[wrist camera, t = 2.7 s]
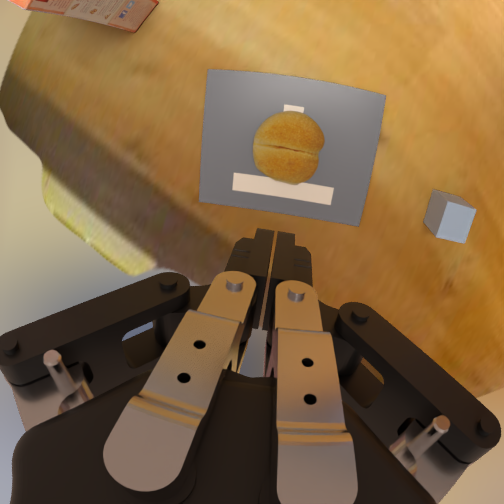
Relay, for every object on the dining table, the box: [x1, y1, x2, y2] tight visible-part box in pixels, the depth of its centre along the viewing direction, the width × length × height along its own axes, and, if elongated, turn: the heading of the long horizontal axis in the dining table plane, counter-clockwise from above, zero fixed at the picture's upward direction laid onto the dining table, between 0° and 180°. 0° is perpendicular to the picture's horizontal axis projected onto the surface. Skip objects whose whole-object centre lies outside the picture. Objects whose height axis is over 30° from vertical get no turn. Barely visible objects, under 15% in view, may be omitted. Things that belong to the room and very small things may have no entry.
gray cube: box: [423, 189, 476, 244], centre depth 35 cm, size 5×5×5 cm
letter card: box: [199, 69, 386, 227], centre depth 36 cm, size 18×22×1 cm
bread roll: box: [253, 111, 325, 185], centre depth 34 cm, size 8×9×4 cm
